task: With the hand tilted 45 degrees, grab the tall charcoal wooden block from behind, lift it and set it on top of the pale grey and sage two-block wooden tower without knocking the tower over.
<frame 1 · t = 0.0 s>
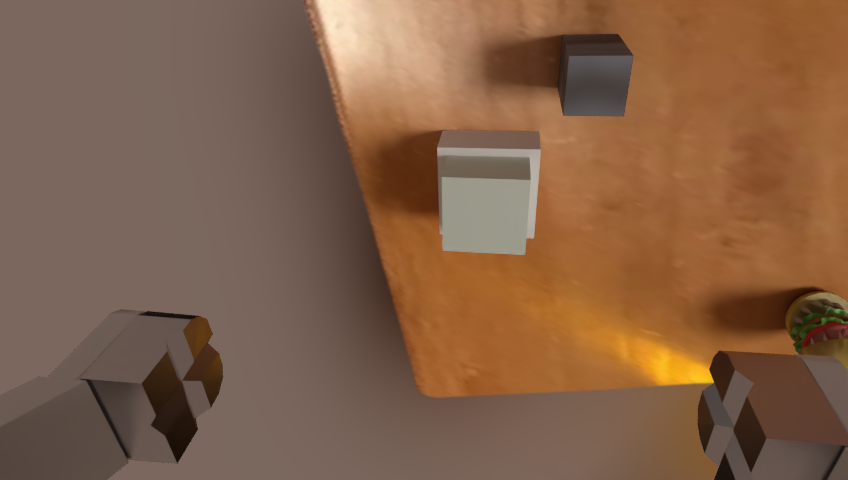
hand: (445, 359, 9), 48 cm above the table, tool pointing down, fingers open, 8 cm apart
tower base: (489, 173, 60), on the table
tower top: (487, 192, 55), point 5 cm above the table
charcoal block: (587, 62, 52), on the table
hamburger: (809, 308, 63), on the table
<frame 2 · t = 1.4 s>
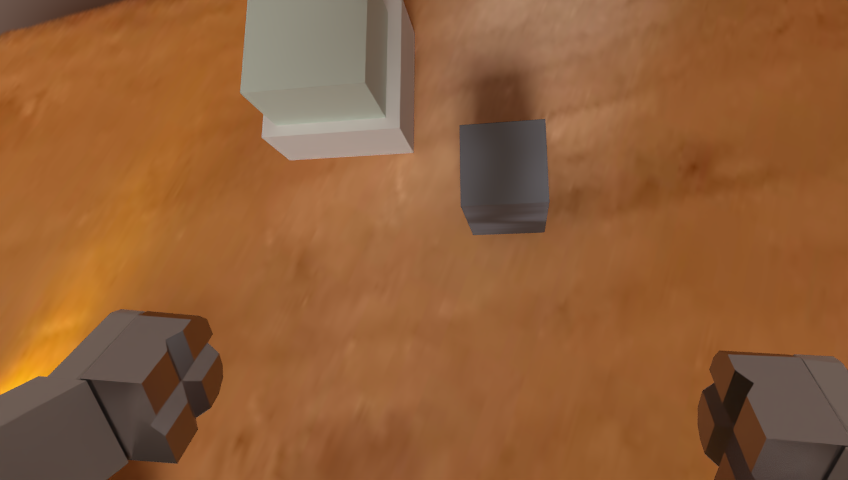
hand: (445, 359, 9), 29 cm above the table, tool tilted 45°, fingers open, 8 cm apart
tower base: (353, 98, 43), on the table, touching tower top
tower top: (332, 68, 39), point 5 cm above the table, touching tower base
charcoal block: (507, 199, 39), on the table
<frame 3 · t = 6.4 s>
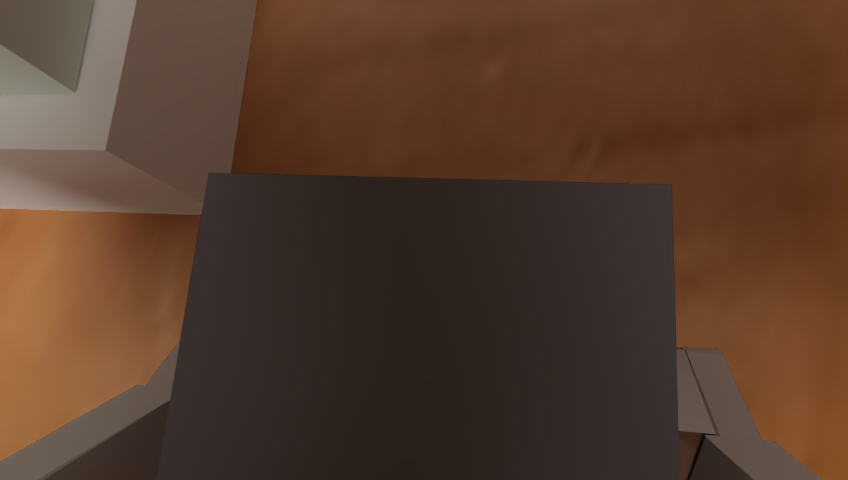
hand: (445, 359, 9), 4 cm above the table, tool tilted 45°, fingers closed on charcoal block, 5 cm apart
tower base: (102, 59, 17), on the table
charcoal block: (461, 389, 13), on the table, touching gripper
when the fingers open (15 cm above the table, at t = 11.5 s): charcoal block drops 1 cm, point 10 cm above the table.
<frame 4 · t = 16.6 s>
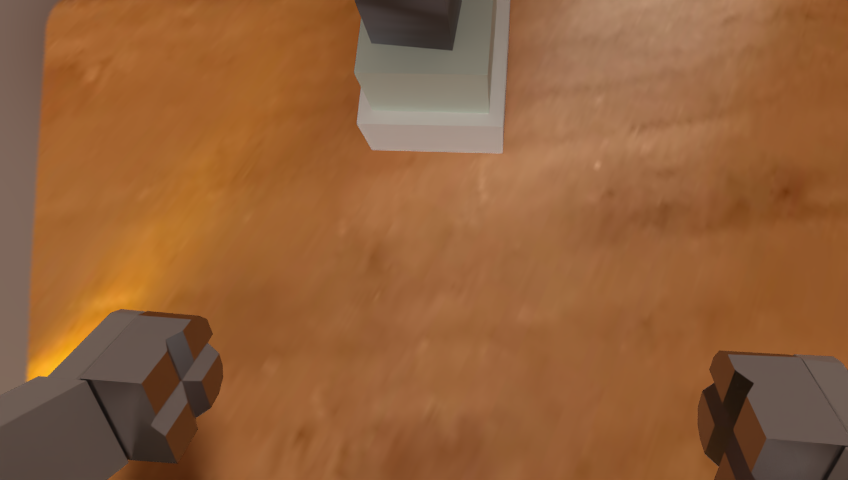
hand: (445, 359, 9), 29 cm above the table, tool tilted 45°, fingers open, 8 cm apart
tower base: (441, 93, 43), on the table, touching tower top
tower top: (435, 58, 38), point 5 cm above the table, touching tower base
charcoal block: (419, 10, 33), point 10 cm above the table
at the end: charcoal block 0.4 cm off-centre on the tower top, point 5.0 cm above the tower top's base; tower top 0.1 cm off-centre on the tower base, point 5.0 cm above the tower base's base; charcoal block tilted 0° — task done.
